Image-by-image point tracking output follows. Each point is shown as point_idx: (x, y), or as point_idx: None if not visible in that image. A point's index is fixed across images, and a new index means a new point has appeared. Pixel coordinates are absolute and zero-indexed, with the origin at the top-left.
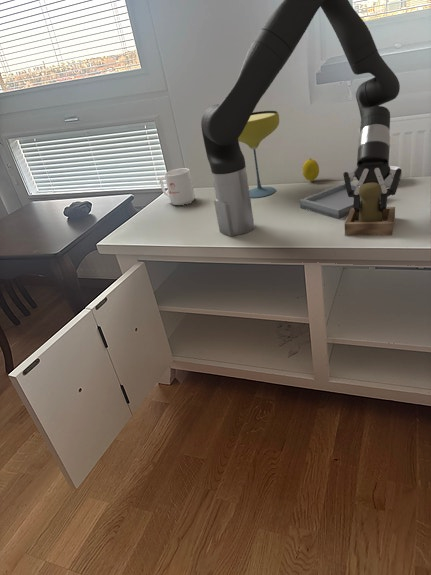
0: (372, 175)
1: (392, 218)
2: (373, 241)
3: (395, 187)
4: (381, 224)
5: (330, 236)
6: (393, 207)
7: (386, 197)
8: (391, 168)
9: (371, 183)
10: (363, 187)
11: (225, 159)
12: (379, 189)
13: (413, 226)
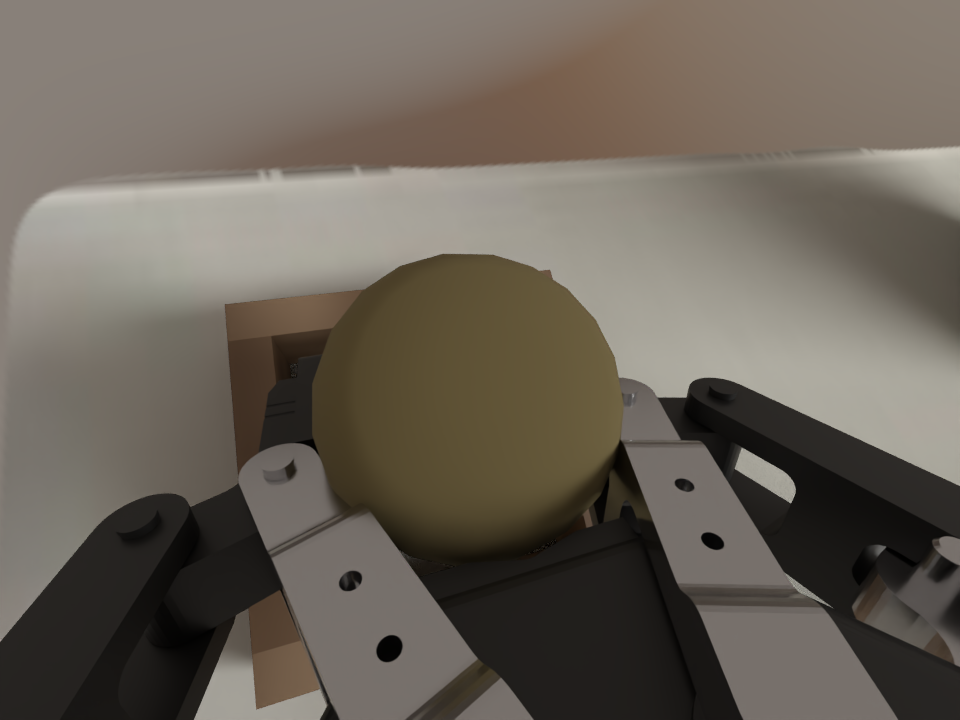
0: (577, 700)
1: (237, 401)
2: (345, 248)
3: (81, 551)
4: (307, 299)
5: (593, 285)
6: (270, 683)
7: (262, 443)
8: None
9: (477, 399)
10: (549, 287)
11: None
12: (325, 353)
13: (110, 514)
